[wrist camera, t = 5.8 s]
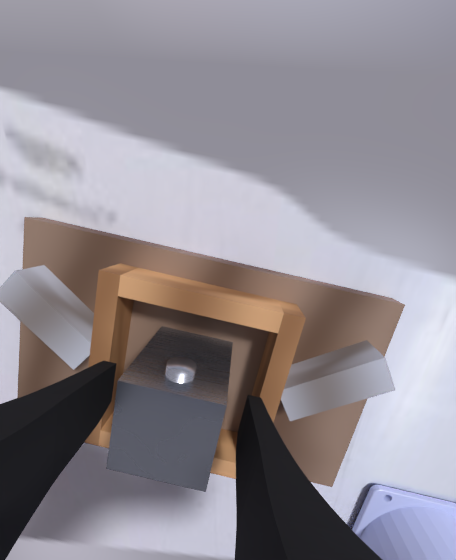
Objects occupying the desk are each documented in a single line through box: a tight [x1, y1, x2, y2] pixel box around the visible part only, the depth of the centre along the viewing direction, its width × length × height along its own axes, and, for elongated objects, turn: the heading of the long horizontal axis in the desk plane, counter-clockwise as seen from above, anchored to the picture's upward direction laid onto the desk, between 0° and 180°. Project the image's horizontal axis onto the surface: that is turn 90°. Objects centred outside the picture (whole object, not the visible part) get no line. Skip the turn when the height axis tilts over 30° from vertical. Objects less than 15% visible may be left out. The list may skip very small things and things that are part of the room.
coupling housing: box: [0, 217, 405, 487], centre depth 14 cm, size 20×12×3 cm, turn 77°
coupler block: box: [106, 326, 233, 492], centre depth 12 cm, size 4×5×5 cm
